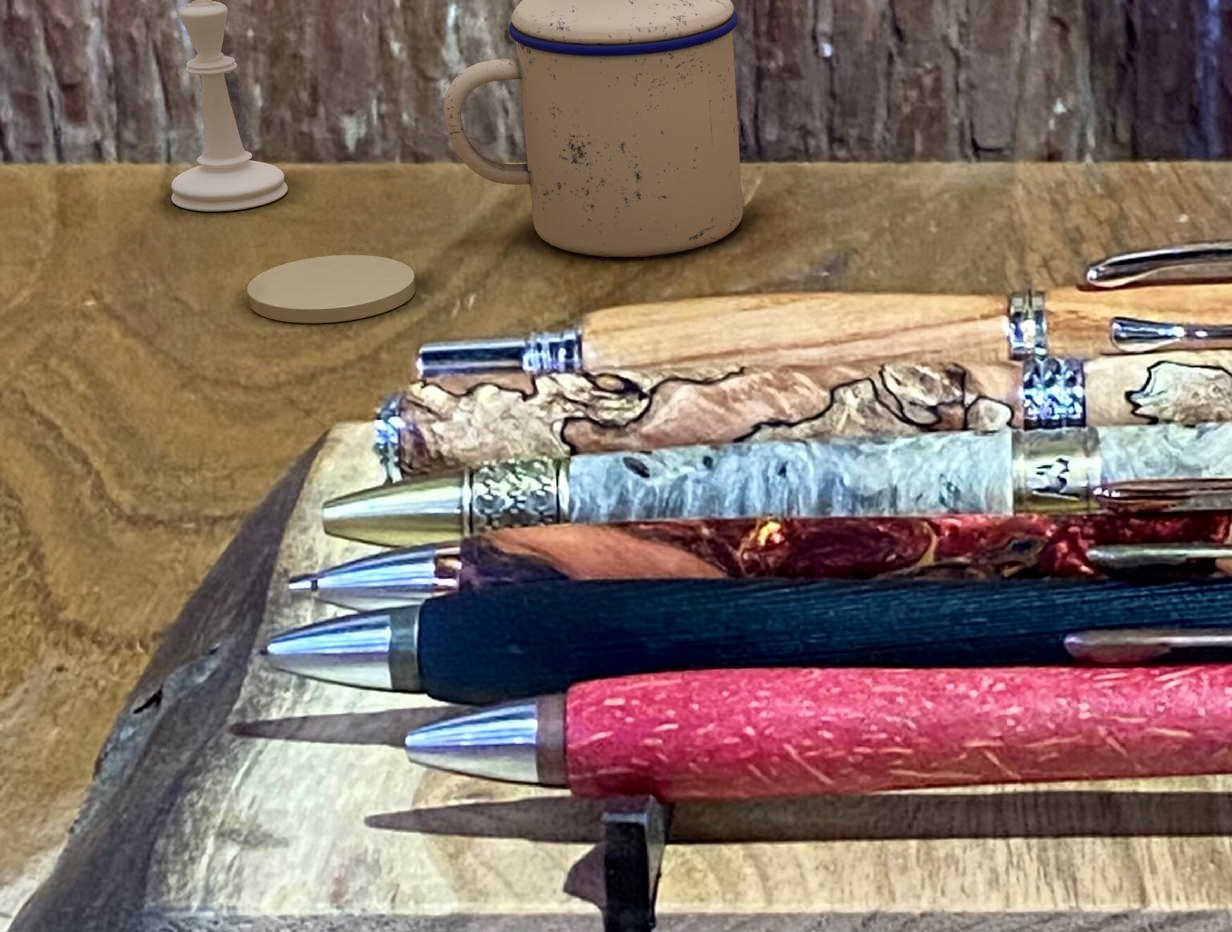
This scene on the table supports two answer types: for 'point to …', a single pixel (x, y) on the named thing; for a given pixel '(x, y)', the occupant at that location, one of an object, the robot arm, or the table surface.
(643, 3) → the teacup with lid
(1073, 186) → the table surface
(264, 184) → the chess piece
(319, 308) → the coaster
